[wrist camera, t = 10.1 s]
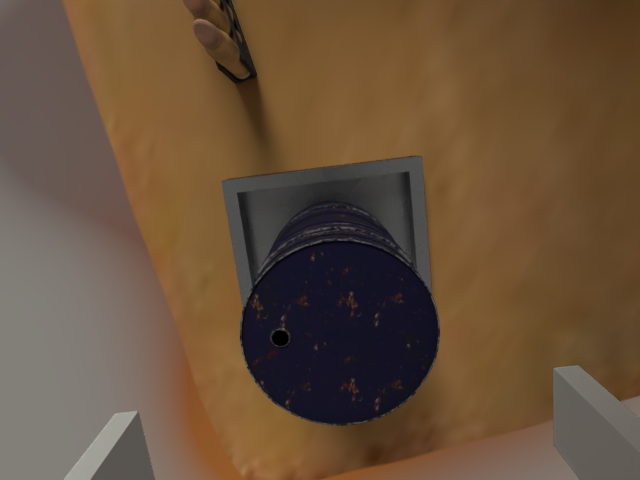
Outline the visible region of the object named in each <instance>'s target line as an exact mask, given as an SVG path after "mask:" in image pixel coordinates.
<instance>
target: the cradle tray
mask: <svg viewBox="0 0 640 480" xmlns="http://www.w3.org/2000/svg"><path fill="white" fill-rule="evenodd" d="M222 187H223V193H224V199H225V205H226V210H227V216H228V222H229V228H230V234H231V240H232V246H233V252H234V258H235V264H236V270H237V276H238V281H239V287H240V293H241V299H242V305H243V308H244V305H245V302H246V300H247V297H248V295H249V293H250V290H251V287H252V284H253V281H254V279H255V277H256V275H257V273H258V271H259V269H260V267H261V265H262V263H263V261H264V260H265V258H266V256H267V255H268V254H269V251H270V249H271V247H272V245H273V243H274V241H275V240H276V238H277V236H278V234H279V232H280V231H281V230H282V229H283V227H284V226H285V225H286V224H287V223H288V221H289V220H290V219H291V218H292V217H293V216H294V215H295V214H297V213H298V212H299V211H301V210H302V209H304V208H306V207H308V206H310V205H313V204H316V203H320V202H325V201H343V202H347V203H351V204H354V205H357V206H359V207H361V208H363V209H364V210H366V211H368V212H369V213H370V214H371V215H373V216H374V217H375V218H376V219H377V220H379V221H380V222H381V223H382V225H383V226H384V227H385V228H386V229H387V230H388V232H389V233H390V234H391V236H392V237H393V239H394V240H395V242H396V243H397V244H398V245H399V246H400V247H401V248H402V249H403V251H404V252H405V253H406V254H407V256H408V257H409V259H410V260H411V261H412V262H413V264H414V265H415V267H416V269H417V270H418V272H419V273H420V275H421V278H422V279H423V281H424V282H425V284H426V285H427V287H428V289H429V290H430V292H431V294H432V288H431V274H430V261H429V247H428V233H427V219H426V206H425V192H424V178H423V164H422V156H409V157H401V158H393V159H384V160H376V161H368V162H360V163H352V164H344V165H336V166H328V167H320V168H312V169H304V170H296V171H288V172H280V173H272V174H264V175H256V176H248V177H240V178H232V179H227V180H223V181H222Z"/></svg>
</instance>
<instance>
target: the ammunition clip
mask: <svg viewBox="0 0 640 480" xmlns="http://www.w3.org/2000/svg"><path fill="white" fill-rule="evenodd" d="M183 2H184V4H185V5H186V7H187V8H188V9H189V11H190V12H191V13H192V15H193V16H194V19H195V21H194V23H193V29H194V32H195V35H196V37H197V38H198V40H199V41H200V42H201V43H202V44H203V46H204V47H205V49H206V51H207V53H208V54H209V55H210V56H211V57H212V58H213V59H214V60H215V62H216V64H217V67H218V69H219V70H220V71H221V72H223V73H224V74H225V75H226V76H227V77H228V78H230V79H231V80H232V81H233V82H234V83H236V84H237V83H240V82H242V81H245V80H248V79H251V78H253V77H256V76H257V73H256V70H255V67H254V64H253V61H252V59H251V56H250V53H249V50H248V47H247V44H246V41H245V39H244V36H243V33H242V30H241V27H240V24H239V21H238V18H237V16H236V13H235V10H234V7H233V4H232V1H231V0H183Z"/></svg>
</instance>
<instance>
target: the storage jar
mask: <svg viewBox="0 0 640 480" xmlns="http://www.w3.org/2000/svg"><path fill="white" fill-rule="evenodd" d="M439 339H440V324H439V316H438V312H437V308H436V304H435V302H434V299H433V297H432V294H431V292H430V290H429V289H428V287H427V285H426V284H425V282H424V281H423V279H422V278H421V275H420V273H419V272H418V270H417V269H416V267H415V265H414V264H413V262H412V261H411V260H410V259H409V257H408V256H407V254H406V253H405V252H404V251H403V249H402V248H401V247H400V246H399V245H398V244H397V243H396V242H395V240H394V239H393V237H392V236H391V234H390V233H389V232H388V230H387V229H386V228H385V227H384V226H383V225H382V223H381V222H380V221H379V220H377V219H376V218H375V217H374V216H373V215H371V214H370V213H369V212H368V211H366V210H364V209H363V208H361V207H359V206H357V205H354V204H351V203H347V202H343V201H325V202H320V203H316V204H313V205H310V206H308V207H306V208H304V209H302V210H301V211H299V212H298V213H297V214H295V215H294V216H293V217H292V218H291V219H290V220H289V221H288V223H287V224H286V225H285V226H284V227H283V229H282V230H281V231H280V232H279V234H278V236H277V238H276V240H275V241H274V243H273V245H272V247H271V249H270V251H269V254H268V255H267V256H266V258H265V260H264V261H263V263H262V265H261V267H260V269H259V271H258V273H257V275H256V277H255V279H254V281H253V284H252V287H251V290H250V293H249V295H248V297H247V300H246V302H245V305H244V308H243V311H242V317H241V323H240V342H241V349H242V354H243V357H244V360H245V363H246V366H247V368H248V370H249V372H250V374H251V376H252V378H253V380H254V381H255V383H256V384H257V385H258V387H259V388H260V389H261V391H262V392H263V393H264V394H265V395H266V396H267V397H268V398H269V399H270V400H271V401H272V402H274V403H275V404H276V405H278V406H279V407H281V408H282V409H283V410H285V411H287V412H289V413H291V414H293V415H295V416H297V417H299V418H302V419H305V420H307V421H310V422H314V423H320V424H325V425H340V426H343V425H354V424H360V423H364V422H368V421H372V420H375V419H377V418H380V417H382V416H385V415H387V414H388V413H390V412H392V411H394V410H395V409H397V408H399V407H400V406H401V405H403V404H404V403H405V402H406V401H408V400H409V399H410V398H411V397H412V396H413V395H414V394H415V393H416V392H417V391H418V390H419V388H420V387H421V386H422V384H423V383H424V381H425V380H426V378H427V377H428V375H429V373H430V371H431V369H432V367H433V365H434V362H435V359H436V355H437V352H438V348H439Z"/></svg>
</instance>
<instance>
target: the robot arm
mask: <svg viewBox="0 0 640 480" xmlns="http://www.w3.org/2000/svg"><path fill="white" fill-rule="evenodd" d="M553 423H554V425H553V426H554V446H555V447H556V449H557V450H558V451H559V453H560V454H561V455H562V456H563V458H564V459H565V461H566V462H567V463H568V464H569V466H570V467H571V469H572V470H573V471H574V473H575V474H576V475H577V477H578V478H579V479H580V480H640V419H639V418H638V417H637V416H636V415H635V414H634V413H633V412H631V411H630V410H629V409H628V408H627V407H626V406H625V405H623V404H622V403H621V402H620V401H619V400H618V399H617V398H615V397H614V396H613V395H612V394H611V393H610V392H609V391H607V390H606V389H605V388H604V387H603V386H602V385H601V384H599V383H598V382H597V381H596V380H595V379H594V378H592V377H591V376H590V375H589V374H588V373H587V372H586V371H584V370H583V369H582V368H581V367H580V366H579V365H575V366H565V367H556V368H553ZM63 480H155V478H154V474H153V469H152V465H151V461H150V457H149V453H148V449H147V445H146V440H145V436H144V432H143V428H142V424H141V419H140V416H139V412H138V411H133V412H123V413H115V414H114V416H113V417H112V418H111V419H110V421H109V422H108V423H107V424H106V426H105V427H104V428H103V430H102V431H101V432H100V433H99V435H98V436H97V437H96V439H95V440H94V441H93V442H92V444H91V445H90V446H89V447H88V449H87V450H86V452H85V453H84V454H83V455H82V457H81V458H80V459H79V460H78V462H77V463H76V464H75V465H74V467H73V468H72V469H71V471H70V472H69V473H68V474H67V476H66V477H65V478H64V479H63Z"/></svg>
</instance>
